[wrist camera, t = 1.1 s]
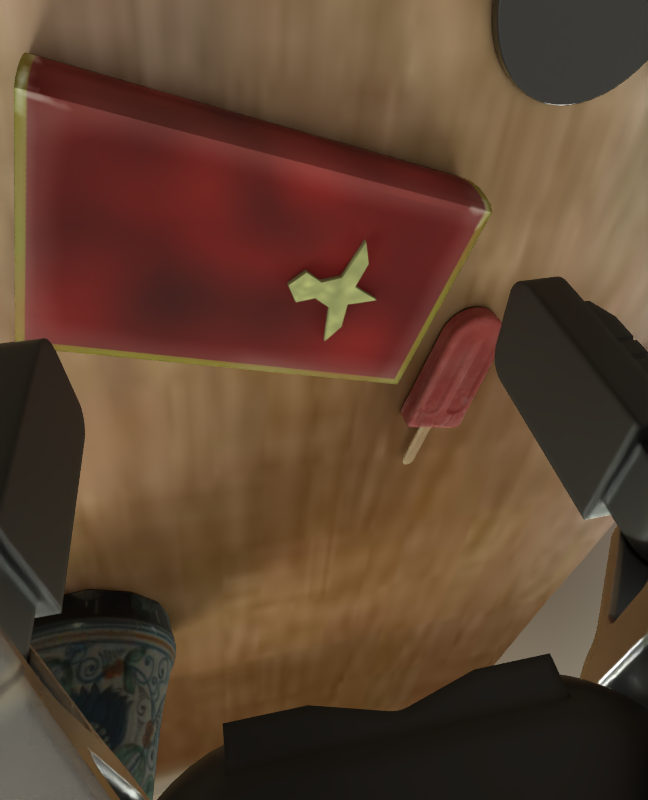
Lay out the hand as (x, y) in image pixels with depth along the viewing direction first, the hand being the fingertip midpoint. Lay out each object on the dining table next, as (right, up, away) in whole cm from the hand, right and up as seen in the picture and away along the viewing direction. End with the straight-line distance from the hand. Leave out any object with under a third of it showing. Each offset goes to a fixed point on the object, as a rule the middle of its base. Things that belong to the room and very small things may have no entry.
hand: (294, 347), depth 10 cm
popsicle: (+9, 0, +33) cm, 34 cm away
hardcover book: (-4, +8, +20) cm, 22 cm away
